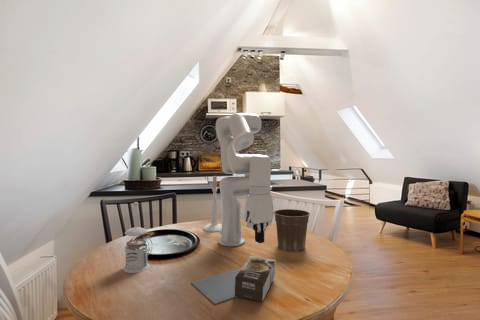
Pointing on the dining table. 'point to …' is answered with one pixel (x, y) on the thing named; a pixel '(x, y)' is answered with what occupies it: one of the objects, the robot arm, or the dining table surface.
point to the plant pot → (291, 229)
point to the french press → (136, 251)
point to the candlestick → (214, 211)
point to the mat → (218, 287)
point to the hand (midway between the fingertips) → (259, 241)
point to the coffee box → (255, 278)
